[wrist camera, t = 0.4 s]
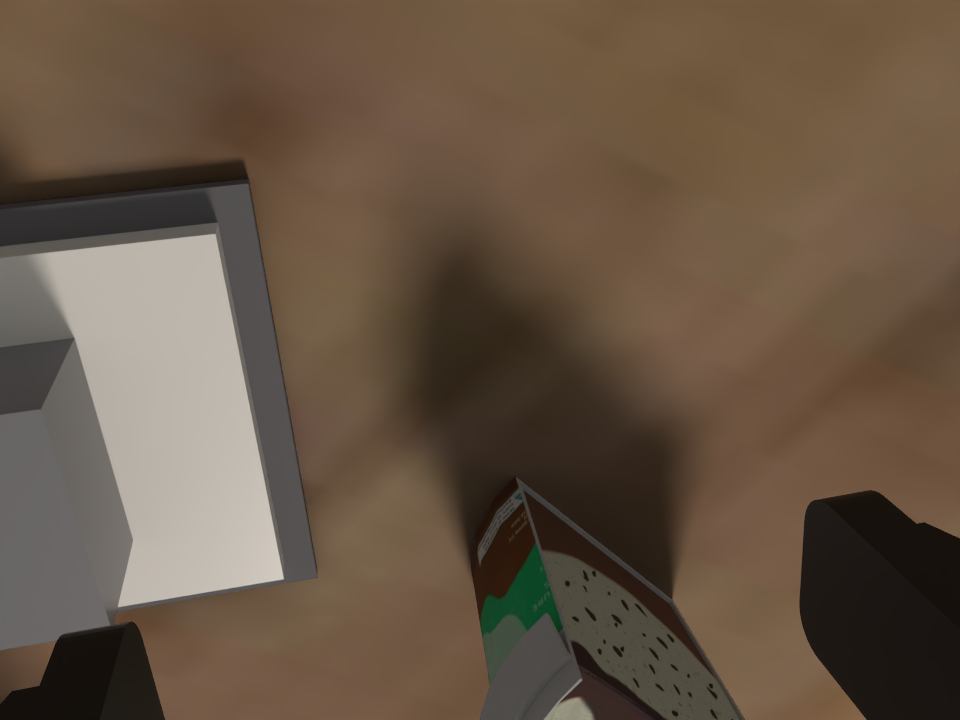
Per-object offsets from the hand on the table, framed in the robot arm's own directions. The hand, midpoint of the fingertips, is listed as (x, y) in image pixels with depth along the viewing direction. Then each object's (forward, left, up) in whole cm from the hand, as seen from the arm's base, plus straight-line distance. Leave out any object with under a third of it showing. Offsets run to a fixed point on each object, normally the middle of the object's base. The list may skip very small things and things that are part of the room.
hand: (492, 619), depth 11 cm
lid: (+6, -10, -17) cm, 21 cm away
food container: (+16, +5, -18) cm, 25 cm away
